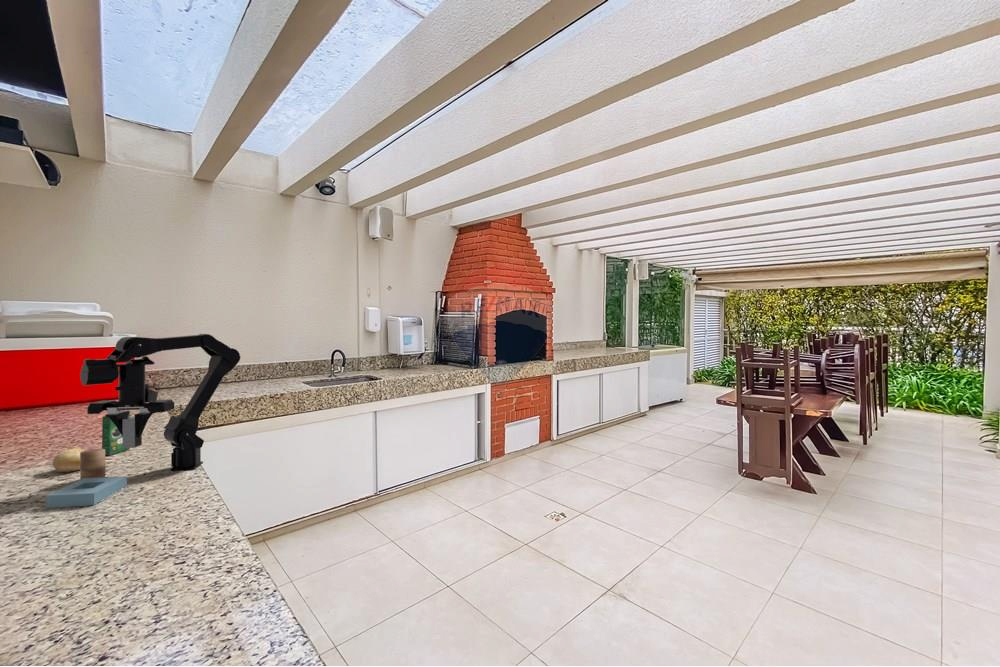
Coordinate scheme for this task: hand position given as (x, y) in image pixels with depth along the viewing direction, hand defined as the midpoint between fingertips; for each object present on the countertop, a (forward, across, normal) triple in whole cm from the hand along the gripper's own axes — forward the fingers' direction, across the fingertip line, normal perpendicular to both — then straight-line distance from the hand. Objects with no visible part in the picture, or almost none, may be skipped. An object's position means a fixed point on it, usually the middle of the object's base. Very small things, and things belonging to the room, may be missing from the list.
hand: (132, 437), depth 124 cm
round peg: (+12, +11, -2) cm, 16 cm away
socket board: (+12, +3, +12) cm, 17 cm away
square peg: (+2, 0, 0) cm, 2 cm away
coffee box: (+12, +22, -30) cm, 39 cm away
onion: (+12, +23, -12) cm, 29 cm away
